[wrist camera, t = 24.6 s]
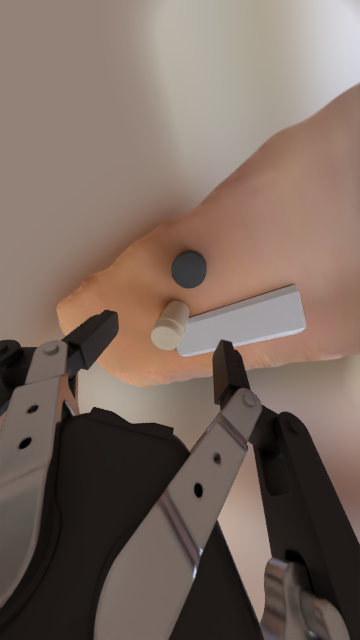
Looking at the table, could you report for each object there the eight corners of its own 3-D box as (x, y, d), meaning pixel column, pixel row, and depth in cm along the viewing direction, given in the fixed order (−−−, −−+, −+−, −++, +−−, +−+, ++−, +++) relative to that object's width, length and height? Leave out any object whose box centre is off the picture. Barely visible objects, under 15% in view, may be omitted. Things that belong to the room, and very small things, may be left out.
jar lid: (209, 280, 30) (209, 284, 28) (179, 287, 32) (177, 292, 30) (202, 245, 27) (201, 247, 25) (169, 256, 29) (166, 258, 27)
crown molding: (294, 284, 28) (305, 291, 25) (298, 330, 33) (307, 341, 30) (168, 325, 38) (165, 333, 35) (187, 355, 44) (185, 365, 41)
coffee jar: (175, 295, 33) (161, 317, 24) (195, 312, 34) (189, 340, 25) (160, 312, 36) (141, 338, 27) (178, 327, 38) (167, 357, 28)
